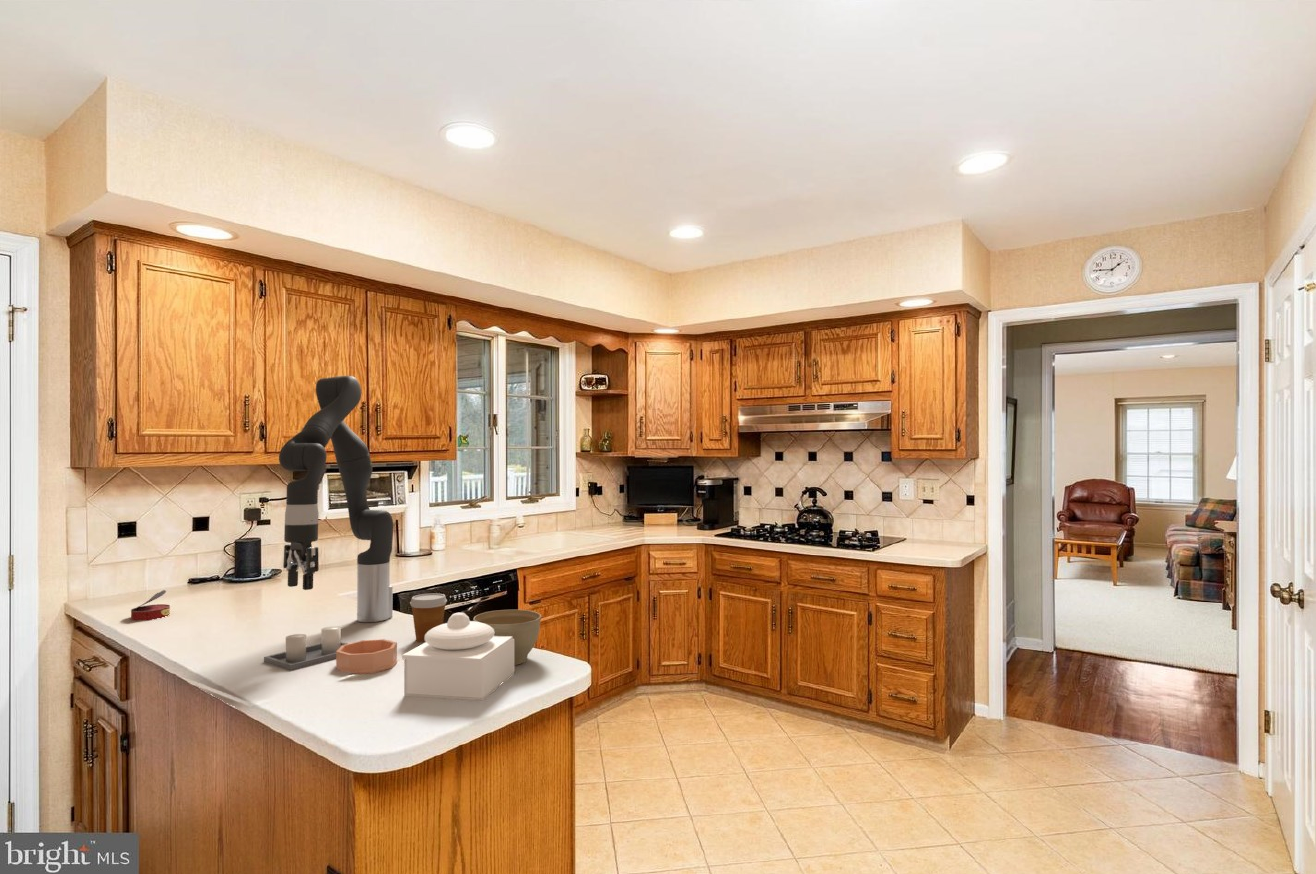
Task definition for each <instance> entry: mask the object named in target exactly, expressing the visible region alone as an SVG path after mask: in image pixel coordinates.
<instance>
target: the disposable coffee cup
mask: <svg viewBox="0 0 1316 874" xmlns="http://www.w3.org/2000/svg"><path fill="white" fill-rule="evenodd" d="M447 602H448V599H447V598H446V595H445V594H444V593H443V594H442V593H422V594H418V595H417V594H416V595H413V596H412V597H411V600H410V602H409V604H410V607H411V610H412V618H413V626H414V634H415V641H416V642H417V643H423V644H424V643H425V642H426V641H425V639H424V637H425V634H426V633H427V632H428V631H429V630H431V629H432V628H434V627H436V626H439V625H442V624H444V617H445V611H446V610H445V609H446V604H447Z"/></svg>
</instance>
